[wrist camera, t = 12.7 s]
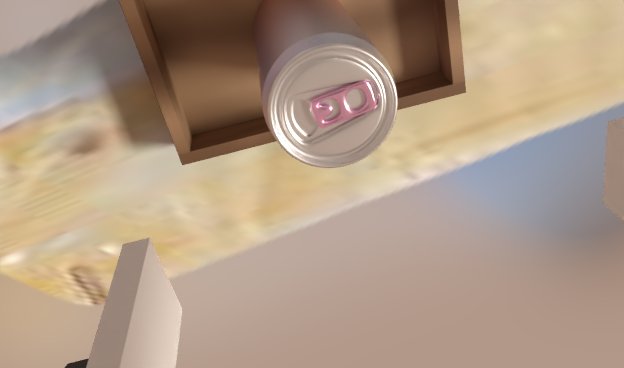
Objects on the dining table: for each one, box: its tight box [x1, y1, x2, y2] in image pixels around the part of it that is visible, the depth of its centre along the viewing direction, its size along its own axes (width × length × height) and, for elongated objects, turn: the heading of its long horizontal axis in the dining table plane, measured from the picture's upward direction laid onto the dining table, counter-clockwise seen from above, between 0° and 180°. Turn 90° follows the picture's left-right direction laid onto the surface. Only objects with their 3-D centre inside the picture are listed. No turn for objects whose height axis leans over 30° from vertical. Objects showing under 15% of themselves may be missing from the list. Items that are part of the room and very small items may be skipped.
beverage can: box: [254, 0, 398, 168], centre depth 30 cm, size 6×6×15 cm
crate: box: [119, 0, 466, 165], centre depth 36 cm, size 13×20×4 cm, turn 103°
